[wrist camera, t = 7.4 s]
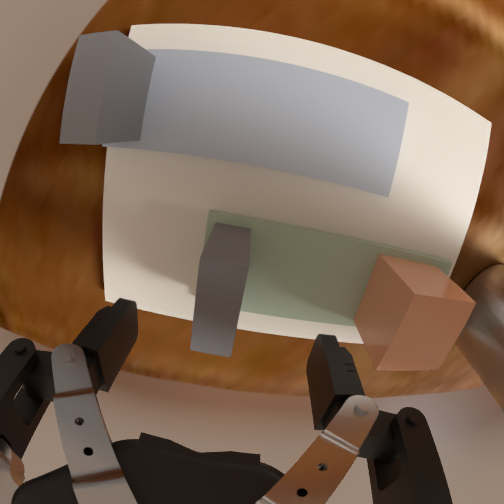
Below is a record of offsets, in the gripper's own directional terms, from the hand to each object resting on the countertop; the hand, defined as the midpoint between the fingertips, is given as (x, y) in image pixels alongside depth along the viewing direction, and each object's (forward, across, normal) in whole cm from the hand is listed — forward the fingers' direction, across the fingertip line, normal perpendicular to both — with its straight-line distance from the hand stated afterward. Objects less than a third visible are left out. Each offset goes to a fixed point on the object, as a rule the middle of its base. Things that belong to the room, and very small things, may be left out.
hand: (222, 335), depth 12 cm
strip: (+6, 0, -10) cm, 11 cm away
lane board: (+8, -3, -5) cm, 10 cm away
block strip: (+7, -6, 0) cm, 9 cm away
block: (+6, -11, 0) cm, 12 cm away
